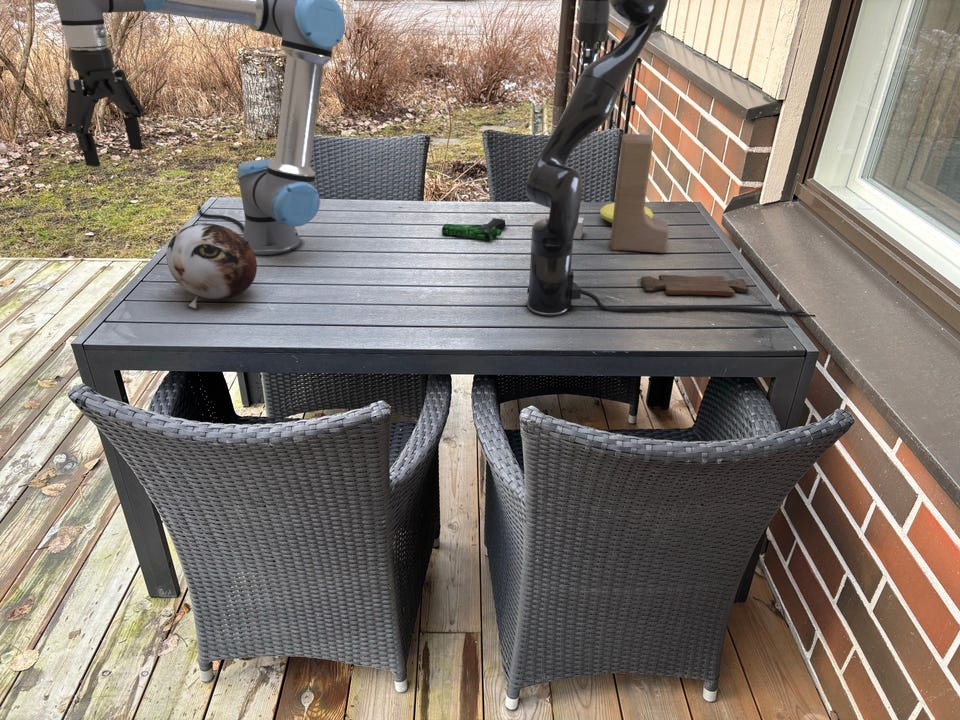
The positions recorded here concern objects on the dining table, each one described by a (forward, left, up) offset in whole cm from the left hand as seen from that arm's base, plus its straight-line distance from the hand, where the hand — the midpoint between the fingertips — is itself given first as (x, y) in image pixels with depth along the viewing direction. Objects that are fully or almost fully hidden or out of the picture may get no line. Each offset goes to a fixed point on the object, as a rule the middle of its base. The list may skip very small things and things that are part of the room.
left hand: (116, 157), depth 150 cm
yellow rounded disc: (+71, +114, -33) cm, 138 cm away
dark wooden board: (+104, +80, -33) cm, 135 cm away
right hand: (+63, +95, +7) cm, 114 cm away
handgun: (+38, +80, -33) cm, 95 cm away
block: (+63, +95, -33) cm, 118 cm away
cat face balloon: (+12, +10, -33) cm, 36 cm away
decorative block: (+82, +96, -33) cm, 131 cm away
